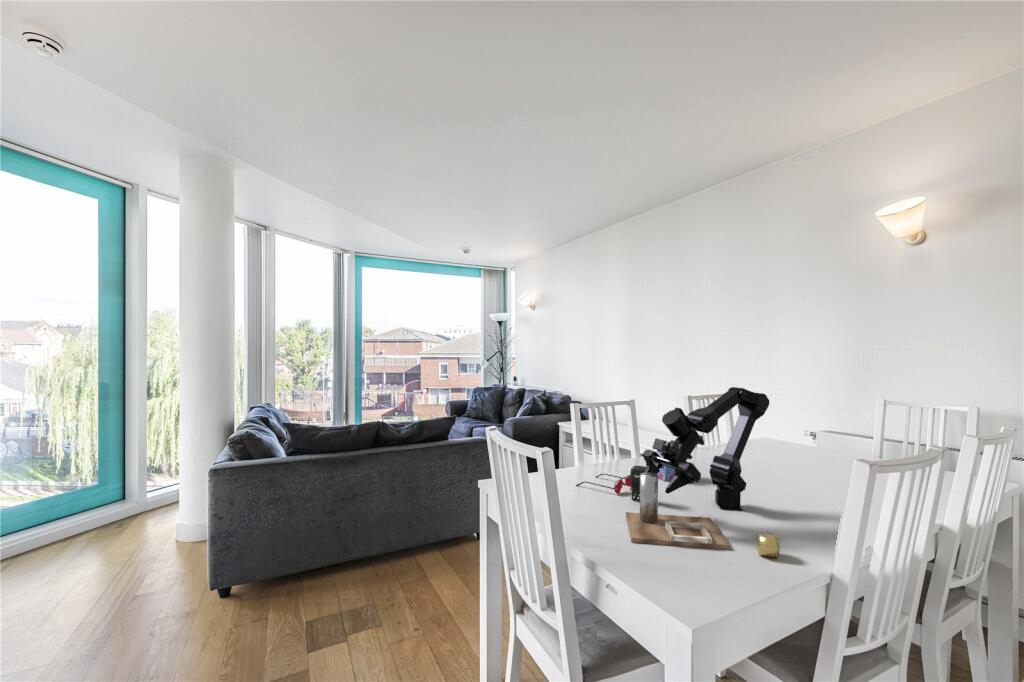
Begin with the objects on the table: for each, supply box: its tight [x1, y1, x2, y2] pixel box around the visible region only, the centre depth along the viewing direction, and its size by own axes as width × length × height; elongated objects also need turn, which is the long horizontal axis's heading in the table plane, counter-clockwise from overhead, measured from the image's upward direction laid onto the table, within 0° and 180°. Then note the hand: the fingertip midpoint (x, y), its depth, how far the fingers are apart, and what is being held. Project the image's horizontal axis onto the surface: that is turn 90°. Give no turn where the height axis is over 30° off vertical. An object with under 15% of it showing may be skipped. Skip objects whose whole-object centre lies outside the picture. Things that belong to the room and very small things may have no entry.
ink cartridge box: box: [656, 450, 675, 482], centre depth 176 cm, size 10×6×14 cm, turn 115°
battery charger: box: [629, 464, 646, 503], centre depth 151 cm, size 7×4×11 cm, turn 56°
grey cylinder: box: [639, 472, 659, 524], centre depth 132 cm, size 5×5×13 cm
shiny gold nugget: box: [756, 533, 781, 559], centre depth 113 cm, size 5×5×4 cm
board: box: [625, 512, 730, 551], centre depth 127 cm, size 24×18×2 cm
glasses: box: [575, 473, 632, 495], centre depth 166 cm, size 14×16×5 cm
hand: (654, 487), depth 133 cm, fingers open, 9 cm apart
